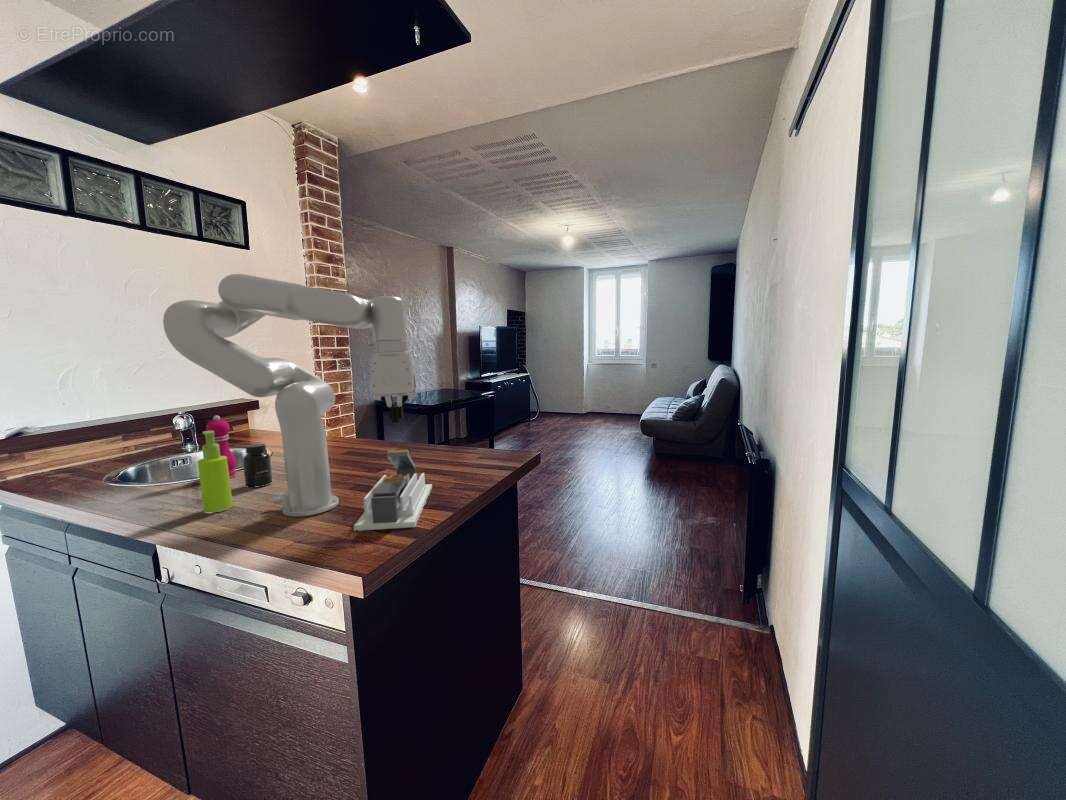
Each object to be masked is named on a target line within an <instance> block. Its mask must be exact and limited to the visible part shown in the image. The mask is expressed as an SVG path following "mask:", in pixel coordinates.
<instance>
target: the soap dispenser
mask: <svg viewBox="0 0 1066 800" xmlns="http://www.w3.org/2000/svg"><path fill="white" fill-rule="evenodd" d="M202 434H203V435H204V437H205V444H203V445H202V447H201V448H202V456H203V458H201V459H199V460H197V468H198V475H199V483H200V490H201V498H202V499H201V500H202V506H203V512H204V511H206V512H215V511H221V510H224V509H227V508H230V507H231V506H232V505H233V504H234V502H233V496H232V488H231V478H229V470H228V462H227V457H226V456H221V455H220V447H219V444H217V443H215V441H214V435H215V432H214V431H213V430H211V431H206V430H205V431H202ZM233 506H234V505H233Z"/></svg>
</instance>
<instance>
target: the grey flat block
mask: <svg viewBox="0 0 1066 800" xmlns="http://www.w3.org/2000/svg"><path fill="white" fill-rule="evenodd" d="M390 476H391V475H390ZM390 476H387V477H384V478H383V482H382V483H381V484H380V486H379V487H378V488H377V489H376V491H375V492H374V493H373V497H376V496H394V495H396V497H397V495H398V494H399V492H400V490H401V489H402V487H403V486H404V484H405V483H406V476H397V475H396V476H395V475H394V476H391V477H390Z"/></svg>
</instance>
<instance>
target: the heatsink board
mask: <svg viewBox="0 0 1066 800" xmlns="http://www.w3.org/2000/svg"><path fill="white" fill-rule="evenodd" d="M425 475H426V474H425V472H422V473H421V474H420V476H419V478H418V473H417V465H415V468H413V469H396V476H406V483H405V484H404V486H403V487H402V489H401V490H400V492H399V494H398V495H397V497H396V495H394V496H376V497H373V493H374V492H375V491H376V489H377V488H378V487H379V486H380V484H381V483H382V482H383V478H384V477H388V476H387V474H384V475H383V476H382V477H381V478H380V479H379V481H377V483H375V485H374V486H373V487H372V488H371V490H370V491H368V493H367V494H366V495H365V497H363V507H364V510H363V511H364V512H363V513H362V514H361V516H360V517H359V518H358V520H357V521H356V522H355V523H354V524H353V531H354V532H356V530H358V531H371V530H372V531H374V530H386V529H387V530H389V529H404V528H416V525H417V523H418V522H417V521H419V519H420V517H421V515H422V513H423V510H424V508H423V507H425V506H424V505H426V503H427V501H428V499H427V498H429V497H428V496H430V495H431V492H432V490H433V483H428V484H427V483H426V478H425V477H426V476H425ZM391 476H395V474H391V475H390V476H389V477H391ZM431 489H432V490H431ZM430 491H431V492H430ZM426 500H427V501H426ZM420 514H421V515H420Z"/></svg>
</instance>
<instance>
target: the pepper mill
mask: <svg viewBox="0 0 1066 800" xmlns="http://www.w3.org/2000/svg"><path fill="white" fill-rule="evenodd" d="M212 419H213V420H211V421H209V422H208V423H207V425H206V427H205V431H211V430H213V431H214V432H215V435H214V441H215V443H217V444H219V447H220V455H221V456H226V457H227V462H228V470H229V477H230V476H233V475H235V474H236V475H237V472H236V469H234V468H235V466H237V459H236V458H235V456H234V454H233V453H232V451H231V449H230V446H229V441H228V440H229V439H230V437H229V434H228V433H229V432H230V430H231V429H230V424H229V423H228V422H227V421H225V420H221V417H220V416H219V415H214V416H213V417H212Z"/></svg>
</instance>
